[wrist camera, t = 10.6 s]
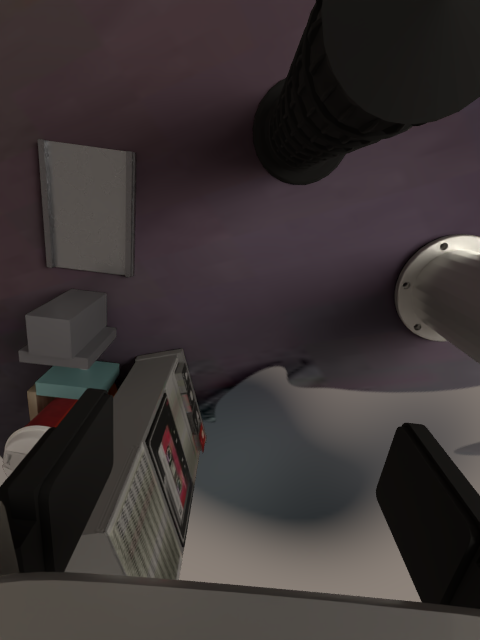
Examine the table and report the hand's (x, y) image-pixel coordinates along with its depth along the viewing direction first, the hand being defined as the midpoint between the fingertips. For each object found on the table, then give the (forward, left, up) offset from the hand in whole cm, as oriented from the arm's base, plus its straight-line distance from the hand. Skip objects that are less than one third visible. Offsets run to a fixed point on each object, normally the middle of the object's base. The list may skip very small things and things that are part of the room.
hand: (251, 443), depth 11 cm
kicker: (+17, +11, -29) cm, 36 cm away
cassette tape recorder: (+7, +19, -31) cm, 37 cm away
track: (+18, -3, -30) cm, 35 cm away
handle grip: (-4, -14, -31) cm, 34 cm away
